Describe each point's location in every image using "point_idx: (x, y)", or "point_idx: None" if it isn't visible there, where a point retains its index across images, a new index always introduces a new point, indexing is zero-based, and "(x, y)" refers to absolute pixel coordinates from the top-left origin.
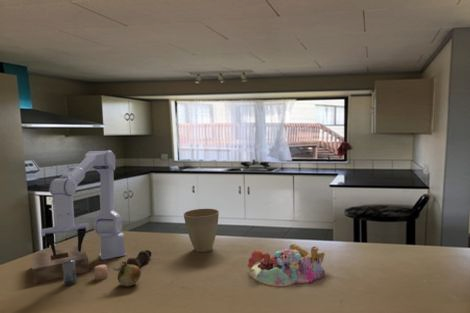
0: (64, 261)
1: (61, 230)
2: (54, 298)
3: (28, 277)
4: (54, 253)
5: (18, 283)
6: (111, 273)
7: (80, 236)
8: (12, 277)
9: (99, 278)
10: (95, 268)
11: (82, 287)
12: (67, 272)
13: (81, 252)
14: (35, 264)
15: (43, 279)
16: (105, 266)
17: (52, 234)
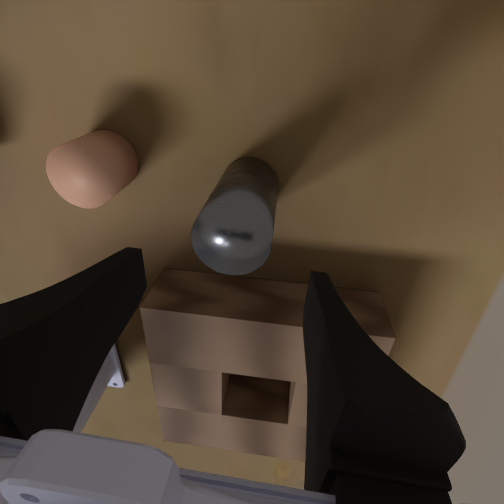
0: (255, 248)
1: (203, 500)
2: (357, 27)
3: None
4: (323, 280)
5: (424, 325)
6: None
7: (12, 320)
8: None
9: (115, 136)
10: (106, 170)
11: (203, 90)
12: (254, 183)
13: (168, 384)
14: None
15: (342, 292)
16: (51, 161)
17: (348, 484)
